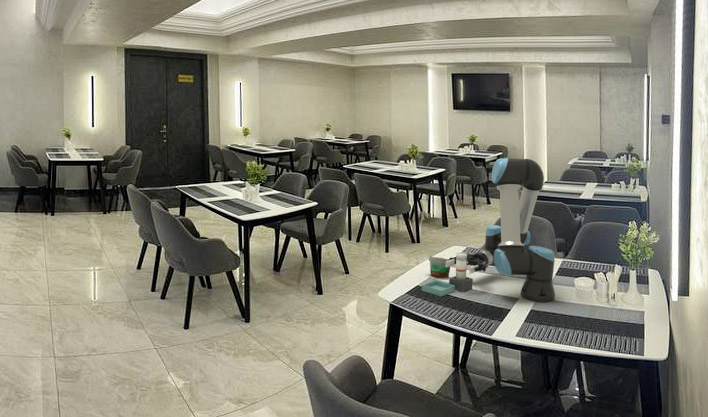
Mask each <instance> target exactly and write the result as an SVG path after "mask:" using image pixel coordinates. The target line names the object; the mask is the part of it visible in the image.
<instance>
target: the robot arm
mask: <svg viewBox="0 0 708 417" xmlns="http://www.w3.org/2000/svg"><path fill="white" fill-rule="evenodd" d="M491 182H492V183H493V184H495V186H496V189H497V190H498V191H499V206H500V207H499V209H500V210H499V211H500V225H495V224H489V225H487V226H486V229H485V239H484V240H485V242H484V250H482V251H479V252H476V253H474V254H473V255H472V256H470V257H467V266H471V267H469V274H470V275H471V274H474V273H476V272H481V271H482V272H486V270H487V268H489V266H491V265H493V264H494V267H495V269H496V271H497V273H499V274H500V275H501V276H502V275H503V276H504V275H505V276H526V277H525V280H524V283H523V285H522V287H521V288H520V296H521V297H522V298H524V299H526V300H529V301H532V302H533V301H534V302H542V303H544V302H545V303H547V302H553V301H555V299H556V292H555V287H554V284H553V280H554V279H553V276H554V268H555V262H556V260H555V256H556V255H555V252H554V250H552V249H550V248H547V247H544V246H540V245H538V246H537V245H529V244H530V242H531V233H530V231H529V230H528V229H529V228H530V227H529V226H530V223H531V219H532V216H533V213H534V209H535V206H536V203H537V199H538V195H539V192H540V191H541V190H542V189H543V187H544V183H545V175H544V172H543V169H542V167H541V165H539V163H538V162H536V161H535V160H533V159H530V158H510V157H509V158H508V157H506V158H504V157H503V158H497V160H496V161H495V162H494V164H493V167H492V170H491ZM520 190H522V191H521V194H520ZM525 245H526V246H527V245H529V246H528V249H525ZM449 259H450V260H449V261H446V267H450V268H451V267H452V266H453V267H454V266H455V265H456V257H449Z"/></svg>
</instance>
